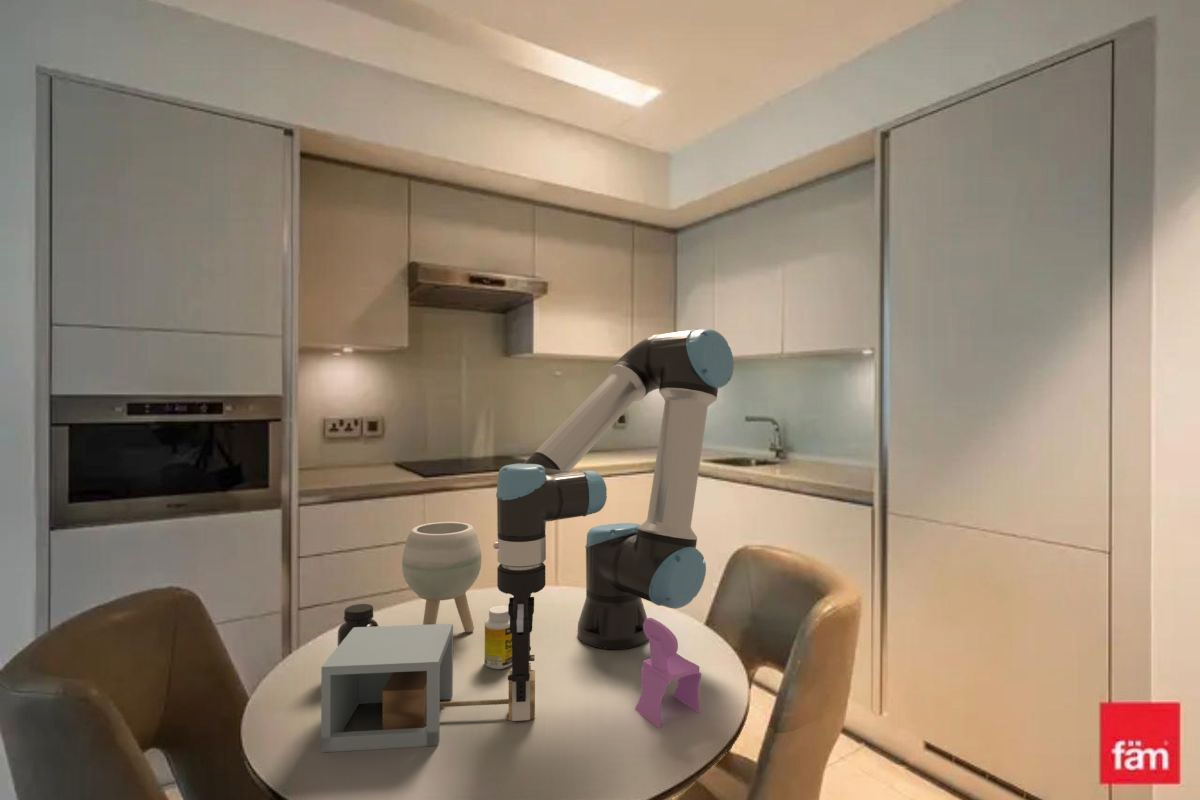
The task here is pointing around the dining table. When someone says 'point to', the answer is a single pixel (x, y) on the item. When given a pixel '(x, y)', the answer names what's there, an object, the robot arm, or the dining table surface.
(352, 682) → the shelf cubby
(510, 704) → the tethered block
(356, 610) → the supplement bottle
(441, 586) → the planter
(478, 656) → the dining table surface
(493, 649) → the supplement bottle
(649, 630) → the toy chair
